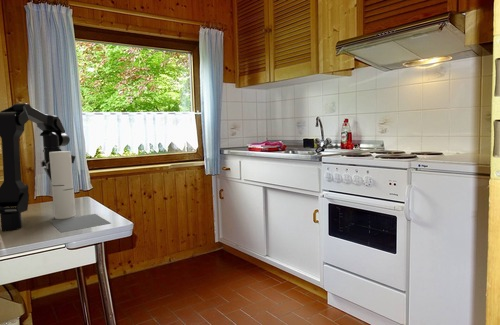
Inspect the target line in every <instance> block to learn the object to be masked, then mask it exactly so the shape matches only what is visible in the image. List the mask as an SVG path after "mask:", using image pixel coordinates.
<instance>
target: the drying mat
mask: <svg viewBox="0 0 500 325" xmlns="http://www.w3.org/2000/svg"><path fill="white" fill-rule="evenodd" d="M49 223H50V224H52V225H53V226H54V227H55V228H56V229H57V231H59V232H60V233H66V232H71V231H77V230H81V229H83V230H84V229H88V228H94V227H99V226H105V225H110V224H112V222H110V221H109V220H107V219H105V218H104V217H102V216H100V215H98V214H96V213H92V214H85V215H80V216H79V215H78V216H74V217H70V218H64V219H53V220H49Z"/></svg>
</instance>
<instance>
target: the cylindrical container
mask: <svg viewBox="0 0 500 325" xmlns="http://www.w3.org/2000/svg"><path fill="white" fill-rule="evenodd" d="M71 155H72V153H71V150H61V151H58V152H49V157H50V168H51V180H52V182H51V190H52V200H53V202H52V203H53V213H54V214H53V215H54V219H55V220H60V219H66V218H72V217H77V216H76V215H77V214H76V203H75V202H76V201H75V190H74V187H75V186H74V176H73V165H72V164H73V163H72V162H71ZM51 180H50V181H51Z"/></svg>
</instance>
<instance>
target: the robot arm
mask: <svg viewBox="0 0 500 325" xmlns="http://www.w3.org/2000/svg"><path fill="white" fill-rule="evenodd" d="M28 121H30V122H32V123H35V124H36V127H37V128H38V129H40V131H42V132H40V133H39V136H40V137H42V145H43V149H42V152H43V157H44V158H43V160H41V161H40V167H43V170H44V171H45V173H46V175H47V177H48V178H49V180H50V183H52V180H51V168H50V157H49V152H58V151H62V149H60V147H65V146H67V145H69V143H70V141H71V139H70V136H69V135H68V134H67V133H65V132H66V130H65V128H64V126H63V123H62V121H61V119H60V118H59V117H58V115H52V114H46V113H44V112H42V111H40V110H38V109H36V108H35V107H33V106H31V104H29V103H26V102H23V103H19V102H18V103H14V104H12V105H10V107H8V108H7V107H6V108H5V109H3V110H1V111H0V138H1V139H0V140H1V150H2V151H1V154H2V176H3V182H2V183H1V185H0V225H1V232H3V233H4V232H13V231H16V230H21V229H22V228H23V219H22V217H23V216H22V213H23V212H26V211H28V206H29V201H30V200H29V198H30V194H29V186H28V184H25V183H24V182H23V180H22V172H21V170H22V169H21V151H20V138H21V136H22V135H23V133H24V132H25V124H26V123H27V122H28ZM75 159H76V156H75V155H73V154H71V162H72V164H74V163H75Z"/></svg>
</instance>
